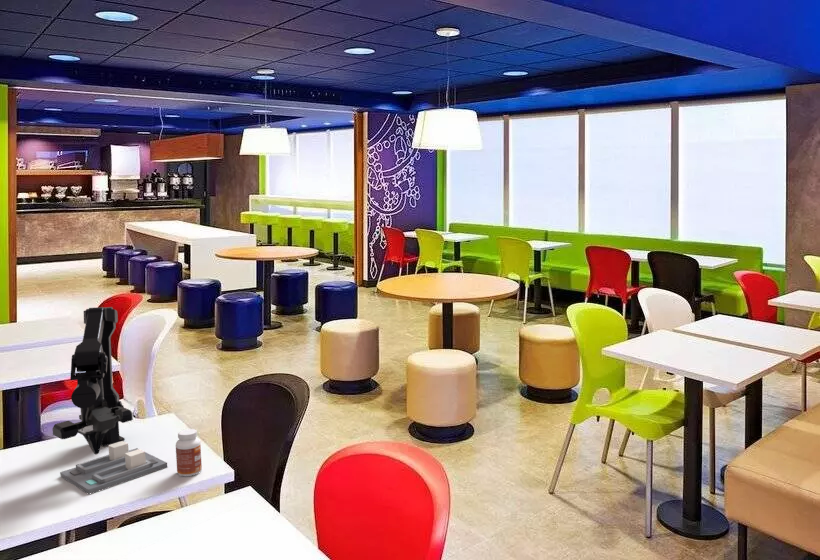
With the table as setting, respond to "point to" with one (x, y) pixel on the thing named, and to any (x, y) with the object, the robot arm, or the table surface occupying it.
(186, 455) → the pill bottle
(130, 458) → the tab
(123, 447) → the tab
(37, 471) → the table surface
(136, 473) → the switch board
